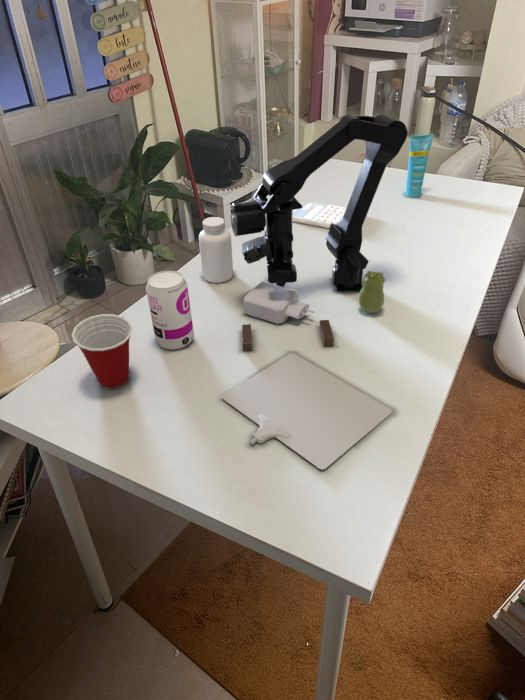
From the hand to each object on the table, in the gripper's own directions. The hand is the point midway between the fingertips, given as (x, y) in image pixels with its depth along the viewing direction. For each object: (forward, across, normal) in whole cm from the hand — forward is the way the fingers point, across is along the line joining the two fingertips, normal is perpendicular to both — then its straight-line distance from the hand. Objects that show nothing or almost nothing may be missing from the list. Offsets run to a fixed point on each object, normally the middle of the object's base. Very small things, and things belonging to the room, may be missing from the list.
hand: (279, 289), depth 126 cm
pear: (+2, +8, +20) cm, 22 cm away
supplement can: (+2, +16, -24) cm, 28 cm away
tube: (+3, -59, +48) cm, 77 cm away
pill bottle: (+2, -12, -15) cm, 19 cm away
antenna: (+2, +39, 0) cm, 39 cm away
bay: (+2, +17, 0) cm, 17 cm away
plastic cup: (+2, +28, -35) cm, 44 cm away
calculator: (+3, -44, +18) cm, 47 cm away
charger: (+2, +8, 0) cm, 8 cm away
